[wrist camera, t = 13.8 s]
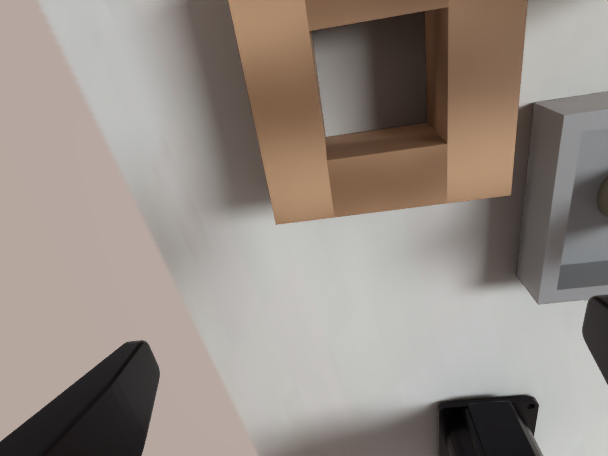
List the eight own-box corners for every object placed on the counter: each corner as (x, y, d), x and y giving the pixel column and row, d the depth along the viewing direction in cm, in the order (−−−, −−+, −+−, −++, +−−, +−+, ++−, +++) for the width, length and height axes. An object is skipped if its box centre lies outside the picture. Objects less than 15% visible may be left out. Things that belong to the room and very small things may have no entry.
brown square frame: (481, 166, 20) (510, 195, 17) (282, 193, 21) (275, 224, 18) (493, -82, 15) (536, -105, 12) (237, -32, 16) (219, -42, 13)
